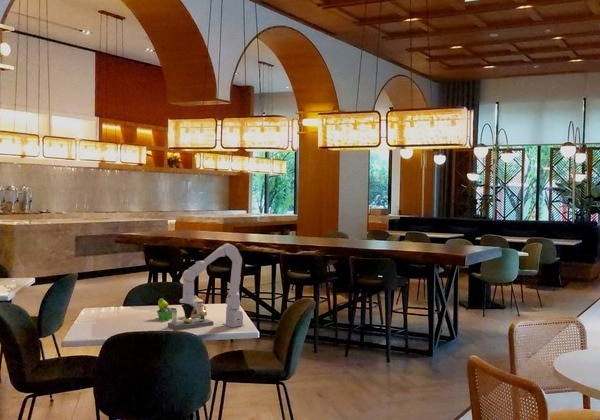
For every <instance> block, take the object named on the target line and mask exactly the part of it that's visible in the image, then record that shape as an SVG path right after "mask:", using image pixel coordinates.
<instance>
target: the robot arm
mask: <svg viewBox="0 0 600 420" xmlns="http://www.w3.org/2000/svg"><path fill="white" fill-rule="evenodd" d="M221 257H223V258H225V257H228V258H229V259H230V260H231V262H232V263H231V272H230V273H231V274H230V282H229V290H228V293H227V296H226V298H225V305H227V306H226V308H225V322H223V323H222V325H224V326H228V327H231V328H236V327H243V326H245V324H244V313H243V311H242V310H240V308H241V307H240V306H241V299H240V292H239V291H240V282H241V281H240V280H241V273H242V264H243V258H242V256H241V254H240V252H239V248H237V247H236V246H234V245H233V244H231V243H228V242H227V243H223V244H222V245H221V246H219V247H218V248H216V250H214V251H213V252H212V253H211V254H209V255H208V256H207V257H206V258H204V259H203V260H196V261H195V264H193V265H192V266H189V267H188V269H186V270H184V271H183V273H182V274H181V275H182V279H183V281H182V282H183V283H182V298H180V299H179V303H180V304H181V307H182V310H183V312H184V318H190V317H191V313H192V310H193V308H194V307H196V306H197V303H196V302H195V301H194V296H195V279H196V277H198V276H199V275H201V274H202V273H203V272H204V271H206V270H207V267H208V265H210V264H211V263H212V262H214V261H216V260H217V259H219V258H221ZM191 318H192V317H191Z"/></svg>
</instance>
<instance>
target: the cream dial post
mask: <svg viewBox="0 0 600 420" xmlns="http://www.w3.org/2000/svg"><path fill="white" fill-rule="evenodd" d="M177 313H178V310H177V309H176V310H172V319H171V322H172V324H176V322H177V320H178V319H177V318H178V316H177Z"/></svg>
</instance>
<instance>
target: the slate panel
mask: <svg viewBox="0 0 600 420" xmlns="http://www.w3.org/2000/svg"><path fill="white" fill-rule="evenodd" d="M209 326H214V321H213V320H211V319H207V318H204V319H200V318H196V319H194V318H193V319H192V323H189V324H186V323H184V320H180V321H176V324H172V321H171V322H169V321H168V322H167V327H168V328H171V329H174V330H176V329H177V331H179V330H187V329H193V328H201V327H209Z"/></svg>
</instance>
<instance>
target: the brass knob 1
mask: <svg viewBox="0 0 600 420" xmlns="http://www.w3.org/2000/svg"><path fill="white" fill-rule="evenodd" d="M192 320H193V317H190V318H185V317H183V321H184V323H186V324H189V323H192Z"/></svg>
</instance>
